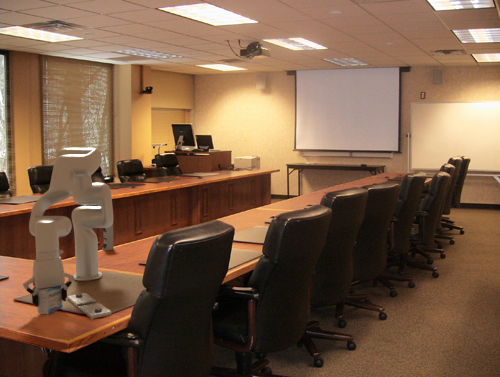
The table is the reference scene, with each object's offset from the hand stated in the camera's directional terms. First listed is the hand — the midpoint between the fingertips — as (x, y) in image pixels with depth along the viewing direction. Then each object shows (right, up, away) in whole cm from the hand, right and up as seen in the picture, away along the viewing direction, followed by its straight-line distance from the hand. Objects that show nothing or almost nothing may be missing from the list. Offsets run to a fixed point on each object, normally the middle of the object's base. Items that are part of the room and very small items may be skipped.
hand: (50, 302), depth 182 cm
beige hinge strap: (+12, -3, +6) cm, 13 cm away
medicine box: (0, -3, +1) cm, 3 cm away
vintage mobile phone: (-8, +6, +102) cm, 103 cm away
